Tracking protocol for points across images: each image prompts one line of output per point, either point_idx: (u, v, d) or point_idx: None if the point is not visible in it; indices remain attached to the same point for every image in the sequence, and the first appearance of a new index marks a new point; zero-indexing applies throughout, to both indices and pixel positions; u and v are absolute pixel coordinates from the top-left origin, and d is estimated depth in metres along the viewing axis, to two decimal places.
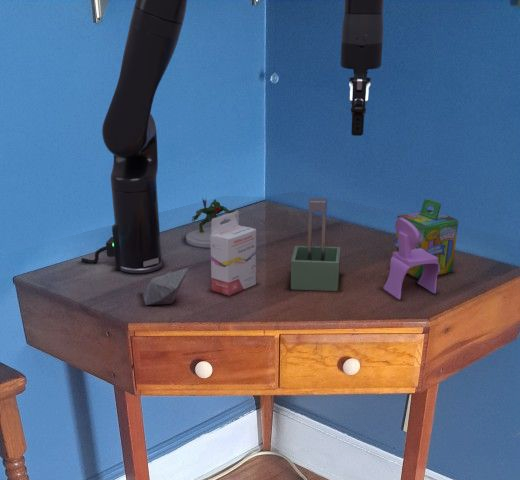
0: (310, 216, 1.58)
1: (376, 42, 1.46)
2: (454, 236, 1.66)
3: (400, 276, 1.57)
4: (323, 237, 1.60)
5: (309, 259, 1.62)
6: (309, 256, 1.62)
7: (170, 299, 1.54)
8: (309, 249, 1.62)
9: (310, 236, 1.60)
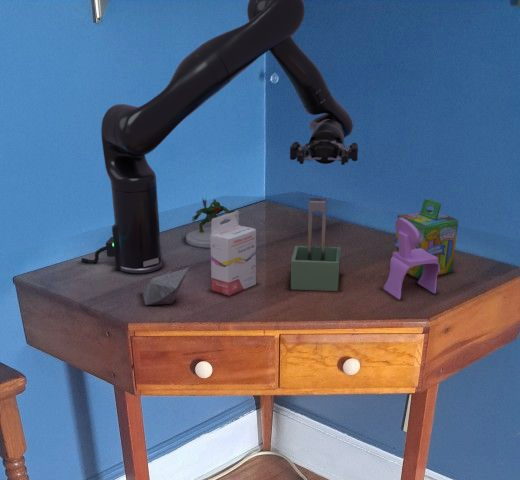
0: (310, 216, 1.58)
1: None
2: (454, 236, 1.66)
3: (400, 276, 1.57)
4: (323, 237, 1.60)
5: (309, 259, 1.62)
6: (309, 256, 1.62)
7: (170, 299, 1.54)
8: (309, 249, 1.62)
9: (310, 236, 1.60)
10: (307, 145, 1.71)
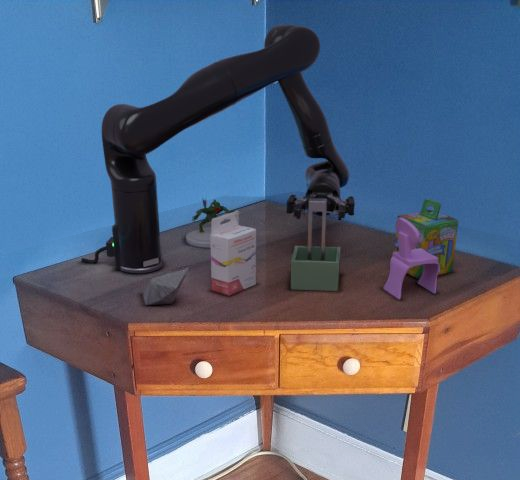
0: (310, 216, 1.58)
1: None
2: (454, 236, 1.66)
3: (400, 276, 1.57)
4: (323, 237, 1.60)
5: (309, 259, 1.62)
6: (309, 256, 1.62)
7: (170, 299, 1.54)
8: (309, 249, 1.62)
9: (310, 236, 1.60)
10: (304, 199, 1.71)
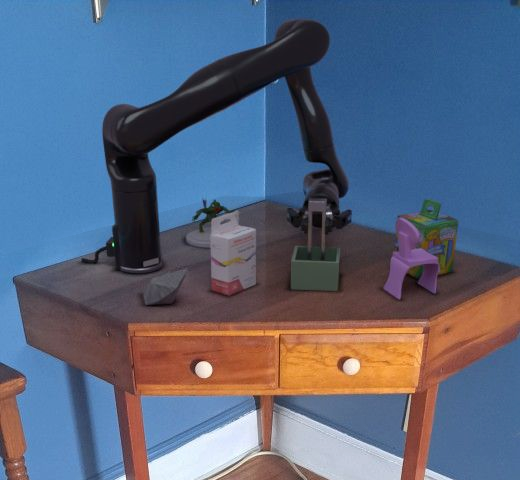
0: (310, 216, 1.58)
1: None
2: (454, 236, 1.66)
3: (400, 276, 1.57)
4: (323, 237, 1.60)
5: (309, 259, 1.62)
6: (309, 256, 1.62)
7: (170, 299, 1.54)
8: (309, 249, 1.62)
9: (310, 236, 1.60)
10: None
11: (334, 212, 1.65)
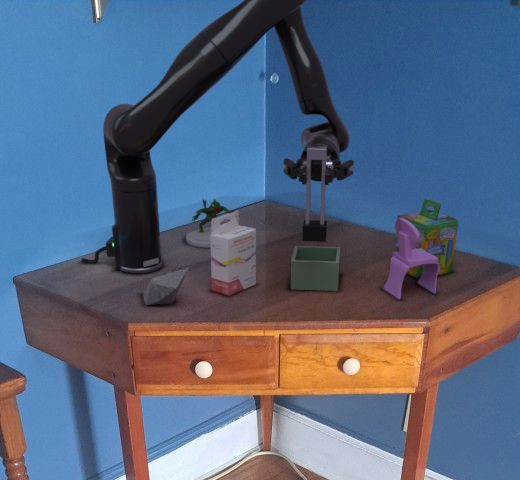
0: (309, 165, 1.46)
1: None
2: (454, 236, 1.66)
3: (400, 276, 1.57)
4: (323, 188, 1.47)
5: (307, 213, 1.50)
6: (307, 210, 1.50)
7: (170, 299, 1.54)
8: (307, 202, 1.49)
9: (309, 188, 1.48)
10: (306, 162, 1.50)
11: (335, 163, 1.52)
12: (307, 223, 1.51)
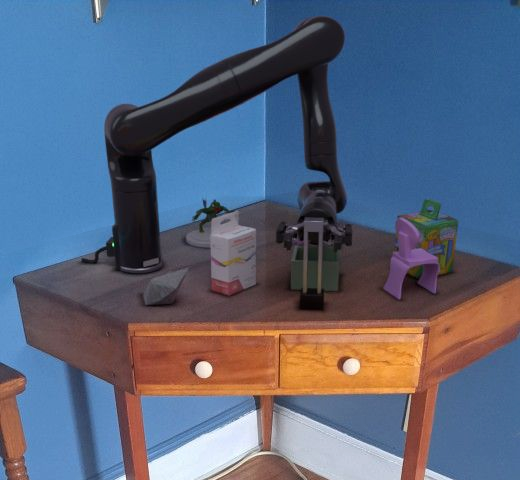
0: (306, 237, 1.47)
1: None
2: (454, 236, 1.66)
3: (400, 276, 1.57)
4: (320, 259, 1.49)
5: (305, 282, 1.51)
6: (305, 279, 1.51)
7: (170, 299, 1.54)
8: (305, 272, 1.50)
9: (306, 258, 1.49)
10: (295, 227, 1.52)
11: None
12: (304, 292, 1.52)
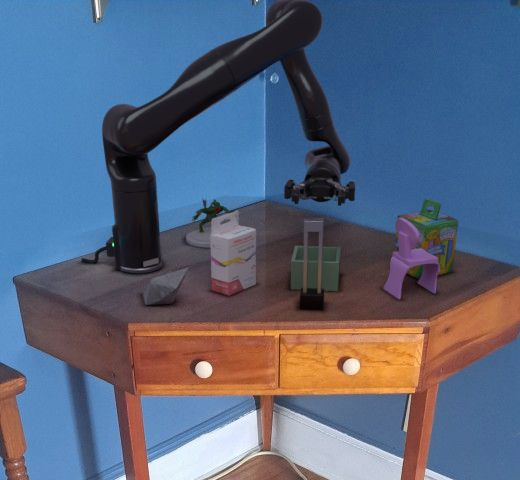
0: (306, 237, 1.47)
1: None
2: (454, 236, 1.66)
3: (400, 276, 1.57)
4: (320, 259, 1.49)
5: (305, 282, 1.51)
6: (305, 279, 1.51)
7: (170, 299, 1.54)
8: (305, 272, 1.50)
9: (306, 258, 1.49)
10: (302, 184, 1.64)
11: None
12: (304, 292, 1.52)
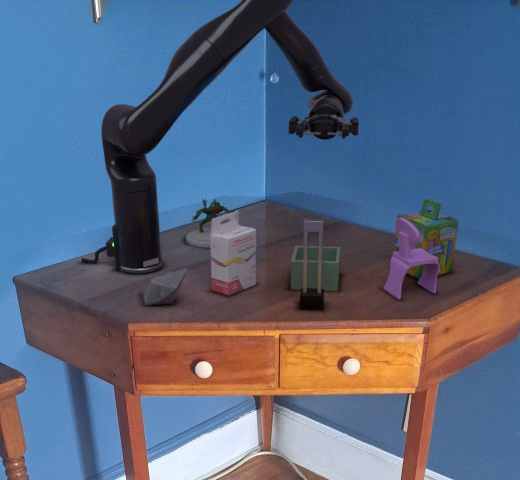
0: (306, 237, 1.47)
1: None
2: (454, 236, 1.66)
3: (400, 276, 1.57)
4: (320, 259, 1.49)
5: (305, 282, 1.51)
6: (305, 279, 1.51)
7: (170, 299, 1.54)
8: (305, 272, 1.50)
9: (306, 258, 1.49)
10: (306, 119, 1.66)
11: None
12: (304, 292, 1.52)
